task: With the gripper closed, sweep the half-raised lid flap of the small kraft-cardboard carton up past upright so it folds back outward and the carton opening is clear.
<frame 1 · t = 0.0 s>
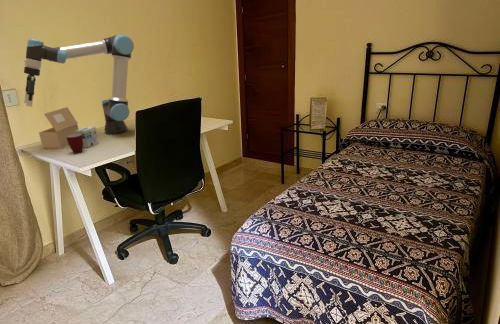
hand: (27, 104, 197), 28 cm above the table, tool tilted 20°, fingers open, 13 cm apart
carton: (62, 143, 220), on the table
light bulb box: (89, 145, 214), on the table
mug: (78, 151, 203), on the table
carton flap: (61, 118, 214), point 16 cm above the table, hinge at 65.0°
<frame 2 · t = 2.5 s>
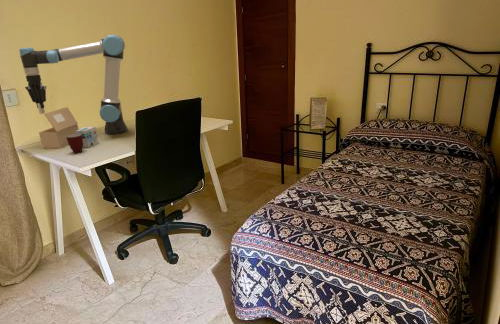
hand: (42, 113, 215), 20 cm above the table, tool pointing down, fingers closed
nothing on the table moved.
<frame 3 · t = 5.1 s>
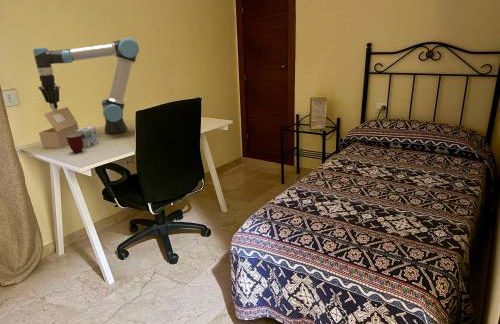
hand: (55, 113, 214), 19 cm above the table, tool pointing down, fingers closed
carton flap: (61, 118, 214), point 16 cm above the table, hinge at 65.1°, touching gripper
everything else where it was.
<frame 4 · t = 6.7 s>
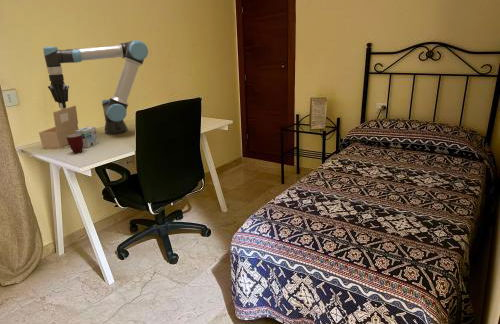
hand: (64, 113, 213), 20 cm above the table, tool pointing down, fingers closed
carton flap: (66, 118, 214), point 16 cm above the table, hinge at 95.8°, touching gripper
everything else where it was.
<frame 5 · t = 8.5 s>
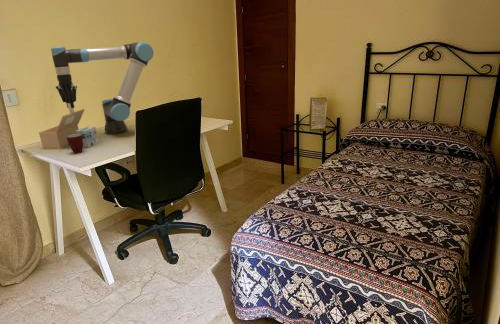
hand: (72, 113, 212), 19 cm above the table, tool pointing down, fingers closed
carton flap: (70, 120, 213), point 15 cm above the table, hinge at 125.8°, touching gripper
everything else where it was.
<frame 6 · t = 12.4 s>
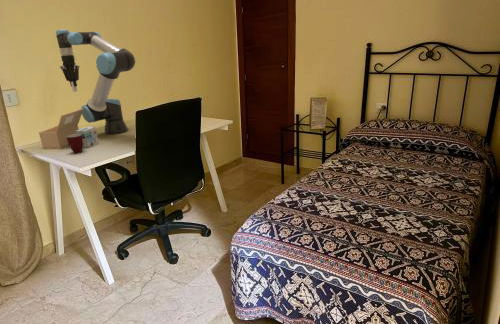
hand: (75, 91, 233), 29 cm above the table, tool pointing down, fingers closed
carton flap: (70, 120, 213), point 15 cm above the table, hinge at 121.8°
everything else where it was.
at the end: carton flap at +122° (first picture: +65°); light bulb box moved 0.3 cm from its start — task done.
